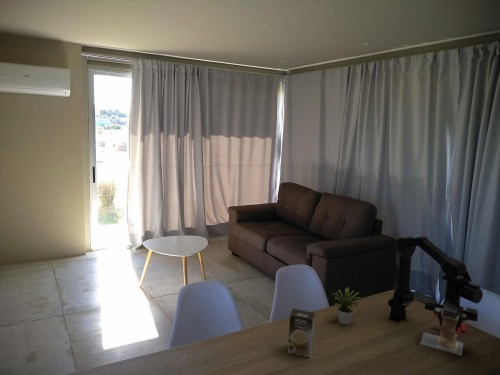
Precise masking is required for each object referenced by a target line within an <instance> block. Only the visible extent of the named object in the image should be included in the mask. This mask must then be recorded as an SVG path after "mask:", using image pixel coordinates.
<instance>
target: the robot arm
mask: <svg viewBox="0 0 500 375" xmlns="http://www.w3.org/2000/svg"><path fill="white" fill-rule="evenodd" d="M395 246H396V251H397V254H398V256H399V259H398V261H399V262H398V278H397V286H396V288H395V289H394V291H393V294H392V298H390V299H389V300H387V305H388V306H389V307H390V314H389V317H388V320H391V321H395V322H401V321H402V320H404V321H406V319H407V317H408V316H407V315H408V310H407V307H410V305H411V304H413V301H414V300H415V299H414V296H415V295H414V294H415V292H414V291H413V290H412V289H411V288H410V283H411V268H412V264H411V263H412V257H413V255H414V254H415V252H416V248H417V247H419V248H420V249H421V250H422V251H423V252H424V253H426V255H428V256H429V257H430V258H431V259H433V261H435V262H436V263H437V264H438V265H439V266H440V269H441V271H442V272H443V273H444V275H443V276H441V280H444V281H445V287H444V289H445V290H444V297H443V303H442V304H441V303H438V300H436V299H432V298H427V299H426V300H425V304H424V309H425V310H427V311H432V312H433V314H434V313H436V314H437V316H438V317H437V318H438V321H439V325H440V329H441V328H442V320H443V315H444V316H446V317H451V318H454V319H456V318H457V325H456V333H458V332H457V330H458V328H459V327H460V325H461V323H464V322H468V320H469V321H472V322H478V318H479V311H478V310H477V309H475V308H471V307H466V309H464V306H461V298H462V299H465V300H467V301H469V302H471V303H473V304H476V305H477V304H479V303H480V302H481V301H482V299H483V295H484V292H483V290H482V288H481V285H479V284H475V283H473V282H472V281H473V280H472V278H471V276H470V274H469V272H468V270H467V266H466V264H465V263H463V262H462V261H460V260H458V259H457V258H454V257H451V256H449V255H447V254H446V253H445V252H444V251H443V250H441V248H439V247H438V246H436V244H434V243H433V242H431V241H430V240H429V238H428V237H427V236H424V235H423V236H416V237H415V238H414V237H412V236H405V237H399V238H397V239H396V242H395ZM461 277H462V278H461Z"/></svg>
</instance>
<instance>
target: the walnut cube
mask: <svg viewBox="0 0 500 375" xmlns="http://www.w3.org/2000/svg"><path fill="white" fill-rule="evenodd" d="M457 322H458V318H457V319H454V318H450V317H446V316H443V320H442V329H441V328H440V332H442V333H445V334H449V335H453V336H455V334H456V333H457V332H456V325H457Z"/></svg>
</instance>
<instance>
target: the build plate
mask: <svg viewBox="0 0 500 375" xmlns="http://www.w3.org/2000/svg"><path fill="white" fill-rule="evenodd" d="M439 336H440V335H436V334H432V333H427V332H423V334H422V337H421V340H420V343H419V344H420V345H423V346H427V347H431V348H433V349H437V350H440V351H444V352H447V353H451V354H454V355H458V356H463V348H464V342H461V341H458V340H456V347H455V350H451V349H448V348H444V347H441V346H438V345H439Z"/></svg>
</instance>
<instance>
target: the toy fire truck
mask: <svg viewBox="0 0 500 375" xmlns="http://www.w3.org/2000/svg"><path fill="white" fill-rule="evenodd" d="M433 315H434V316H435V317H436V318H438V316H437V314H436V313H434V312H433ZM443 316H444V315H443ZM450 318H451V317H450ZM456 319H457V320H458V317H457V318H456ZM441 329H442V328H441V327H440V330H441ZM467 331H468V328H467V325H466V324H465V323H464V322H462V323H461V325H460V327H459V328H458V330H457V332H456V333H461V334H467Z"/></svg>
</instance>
